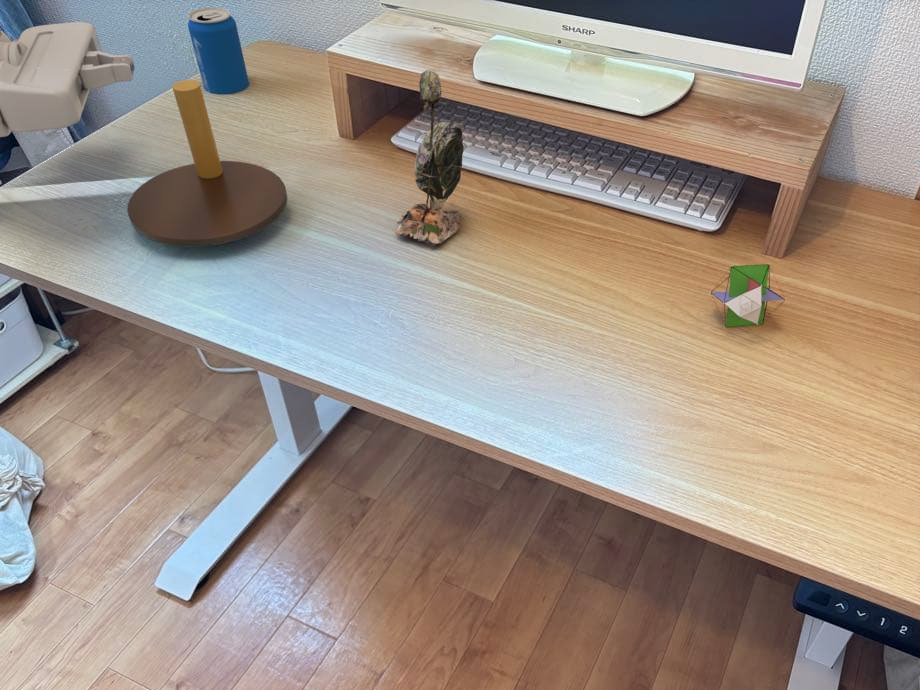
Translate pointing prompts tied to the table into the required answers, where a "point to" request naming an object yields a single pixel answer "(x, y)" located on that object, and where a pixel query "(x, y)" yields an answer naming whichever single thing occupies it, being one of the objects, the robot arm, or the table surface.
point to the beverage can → (218, 50)
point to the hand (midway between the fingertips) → (132, 67)
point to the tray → (205, 189)
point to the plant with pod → (434, 173)
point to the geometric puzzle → (747, 295)
